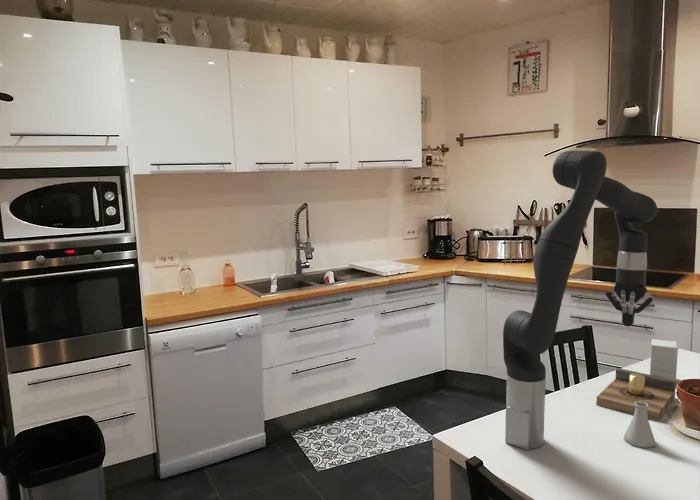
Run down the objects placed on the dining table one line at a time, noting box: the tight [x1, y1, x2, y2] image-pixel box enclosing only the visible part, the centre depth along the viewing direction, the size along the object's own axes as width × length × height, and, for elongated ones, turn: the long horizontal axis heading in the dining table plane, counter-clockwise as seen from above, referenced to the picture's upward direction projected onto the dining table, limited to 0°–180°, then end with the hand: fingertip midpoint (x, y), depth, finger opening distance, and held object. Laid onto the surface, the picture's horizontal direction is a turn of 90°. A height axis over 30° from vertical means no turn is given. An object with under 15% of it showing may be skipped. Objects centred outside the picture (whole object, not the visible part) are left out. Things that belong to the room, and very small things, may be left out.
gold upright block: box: [628, 373, 645, 397], centre depth 151 cm, size 4×4×8 cm
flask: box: [623, 401, 656, 449], centre depth 128 cm, size 7×7×10 cm
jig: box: [595, 367, 677, 422], centre depth 151 cm, size 20×16×6 cm
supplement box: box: [649, 338, 679, 381], centre depth 166 cm, size 7×7×13 cm
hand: (627, 325), depth 149 cm, fingers closed
